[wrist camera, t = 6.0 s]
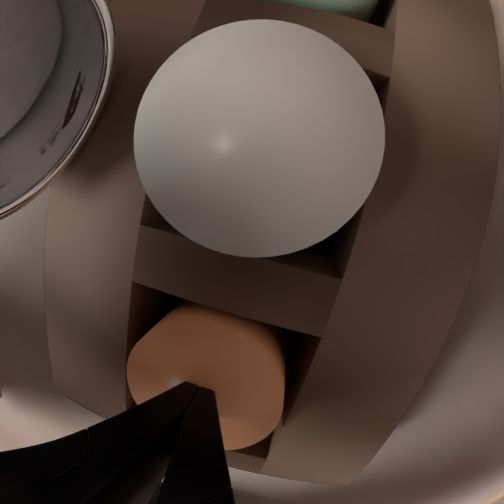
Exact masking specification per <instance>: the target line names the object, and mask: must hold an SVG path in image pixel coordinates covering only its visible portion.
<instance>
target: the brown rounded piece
mask: <svg viewBox="0 0 504 504" xmlns="http://www.w3.org/2000/svg"><path fill="white" fill-rule="evenodd" d="M286 362H287V344H286V339H285V336H284V333H283V330H282V328H281V327H278V326H275V325H271V324H267V323H264V322H260V321H256V320H253V319H249V318H246V317H242V316H239V315H235V314H232V313H229V312H225V311H222V310H219V309H215V308H212V307H209V306H206V305H202V304H199V303H196V302H193V301H190V300H187V299H183V300H182V301H180V302H179V303H178V304H177V305H176V306H175V307H174V308H173V309H172V310H171V311H170V312H169V313H168V314H166V315H165V316H164V317H163V318H162V319H161V320H160V321H159V322H158V323H157V324H156V325H155V326H154V327H153V328H152V329H151V330H150V331H149V332H148V333H147V334H146V335H144V336H143V337H142V338H141V339H140V340H139V341H138V342H137V343H136V345H135V346H134V347H133V349H132V351H131V353H130V355H129V358H128V362H127V381H128V386H129V389H130V391H131V394H132V396H133V398H134V400H135V402H136V404H137V405H139V404H141V403H143V402H145V401H147V400H149V399H151V398H153V397H155V396H157V395H159V394H161V393H163V392H165V391H167V390H169V389H171V388H172V387H174V386H176V385H178V384H180V383H182V382H184V381H187V382H190V383H193V384H196V385H198V386H199V388H200V387H205V388H208V389H211V390H214V391H215V394H216V401H217V407H218V413H219V420H220V426H221V432H222V438H223V443H224V449H225V450H235V449H241V448H245V447H248V446H251V445H253V444H255V443H258V442H259V441H261V440H263V439H264V438H266V437H267V436H268V435H269V434H270V433H271V432H272V431H273V430H274V429H275V427H276V426H277V424H278V422H279V421H280V418H281V415H282V411H283V403H284V390H285V377H286Z"/></svg>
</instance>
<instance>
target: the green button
mask: <svg viewBox="0 0 504 504" xmlns="http://www.w3.org/2000/svg"><path fill="white" fill-rule="evenodd" d="M261 1H270V2H278V3H285V4H291V5H297V6H303V7H308V8H313V9H318V10H322V11H327V12H331V13H335V14H339V15H343V16H346V17H350V18H353V19H357V20H360V21H363V22H367V23H369V21H370V20H371V18H372V16H373V14H374V11H375V9H376V7H377V4H378V2H379V0H261Z"/></svg>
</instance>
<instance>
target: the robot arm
mask: <svg viewBox="0 0 504 504" xmlns="http://www.w3.org/2000/svg"><path fill="white" fill-rule="evenodd" d="M164 476H165V477H164ZM163 478H164V481H163V484H162V488H161V491H160V494H159V498H158V501H157V504H236V503H235V499H234V494H233V490H232V488H231V481H230V476H229V470H228V465H227V460H226V455H225V449H224V443H223V438H222V432H221V426H220V420H219V413H218V407H217V401H216V394H215V391H214V390H211V389H208V388H205V387H200V388H199V386H198V385H196V384H193V383H190V382H187V381H184V382H182V383H180V384H178V385H176V386H174V387H172V388H171V389H169V390H167V391H165V392H163V393H161V394H159V395H157V396H155V397H153V398H151V399H149V400H147V401H145V402H143V403H141V404H139V405H137V406H135V407H132V408H130V409H128V410H126V411H124V412H122V413H120V414H118V415H115V416H113V417H111V418H109V419H107V420H104V421H102V422H100V423H97V424H95V425H93V426H91V427H88V428H87V430H86V429H83V430H81V431H78V432H76V433H73V434H71V435H68V436H65V437H63V438H60V439H57V440H54V441H50V442H46V443H42V444H39V445H34V446H30V447H25V448H20V449H14V450H9V451H3V452H0V504H148V502H149V501H150V499H151V497H152V496H153V494H154V493H155V491H156V489H157V488H158V486H159V484H160V483H161V481H162V479H163Z"/></svg>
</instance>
